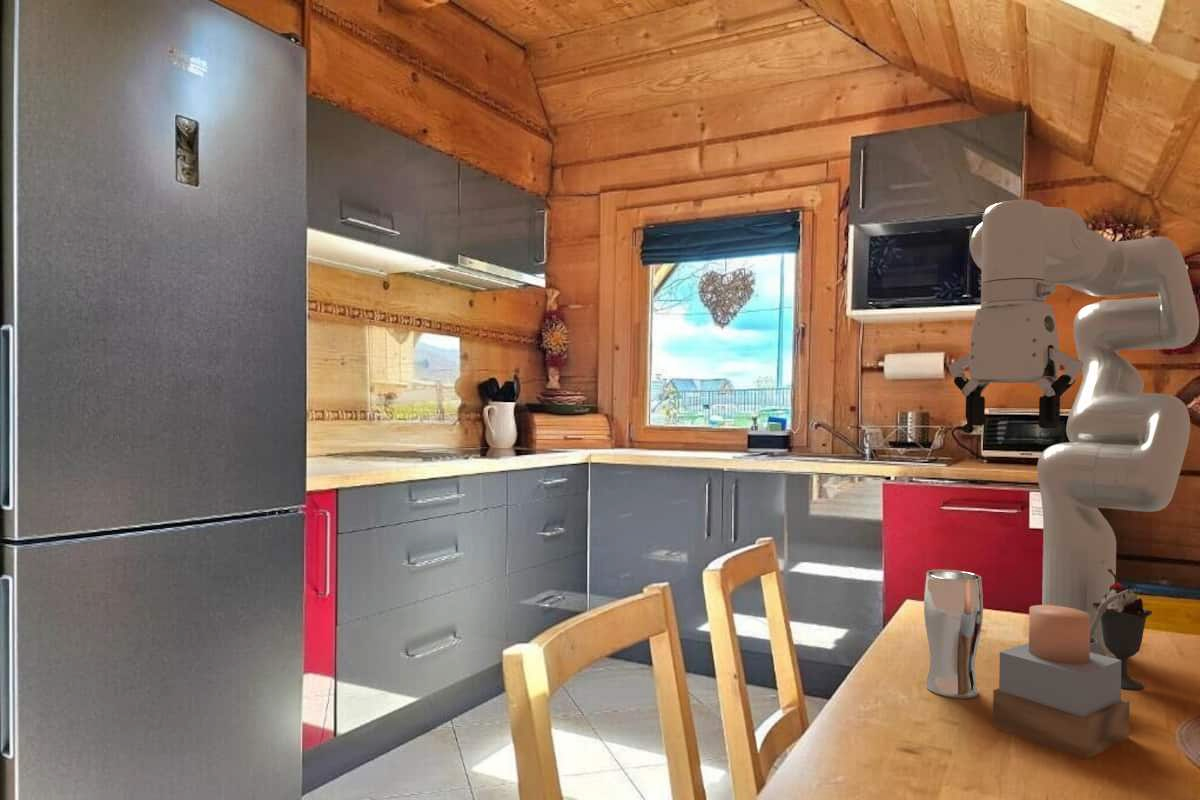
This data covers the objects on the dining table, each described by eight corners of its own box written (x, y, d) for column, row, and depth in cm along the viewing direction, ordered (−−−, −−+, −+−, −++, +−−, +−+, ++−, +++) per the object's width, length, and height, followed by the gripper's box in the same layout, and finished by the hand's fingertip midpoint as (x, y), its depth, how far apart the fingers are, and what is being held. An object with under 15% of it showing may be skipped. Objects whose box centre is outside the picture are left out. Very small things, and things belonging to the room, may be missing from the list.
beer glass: (988, 702, 98) (990, 582, 98) (928, 697, 100) (930, 578, 100) (973, 683, 105) (975, 570, 105) (918, 678, 106) (919, 567, 106)
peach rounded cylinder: (1044, 644, 94) (1045, 602, 94) (1099, 658, 89) (1100, 614, 89) (1018, 652, 91) (1019, 609, 91) (1073, 667, 86) (1074, 621, 86)
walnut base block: (1037, 711, 97) (1038, 674, 97) (1128, 741, 88) (1129, 701, 88) (992, 729, 91) (993, 690, 91) (1085, 762, 83) (1086, 719, 83)
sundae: (1095, 671, 111) (1097, 564, 111) (1153, 682, 106) (1155, 571, 106) (1087, 683, 106) (1089, 571, 106) (1148, 696, 101) (1150, 579, 101)
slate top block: (1038, 676, 96) (1039, 639, 96) (1120, 700, 88) (1121, 660, 88) (999, 691, 91) (999, 651, 91) (1083, 717, 83) (1083, 674, 83)
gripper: (1097, 292, 99) (1094, 429, 99) (967, 305, 113) (965, 424, 113) (1066, 287, 95) (1064, 429, 95) (936, 301, 109) (934, 424, 109)
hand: (1010, 426), depth 104 cm, fingers open, 9 cm apart
